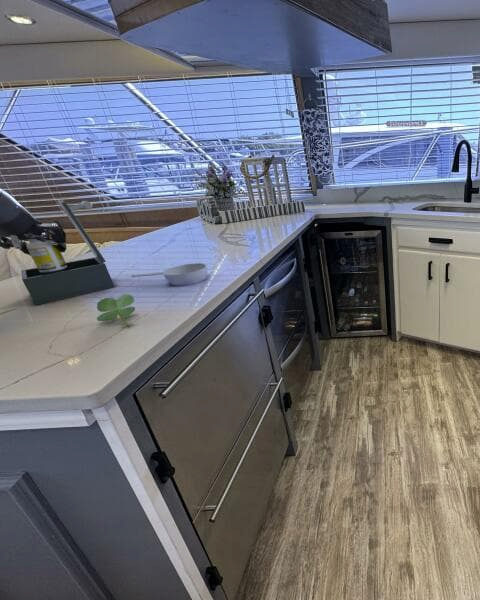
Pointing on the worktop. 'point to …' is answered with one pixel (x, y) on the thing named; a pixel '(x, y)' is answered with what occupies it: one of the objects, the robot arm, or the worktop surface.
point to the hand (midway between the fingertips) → (48, 251)
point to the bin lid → (79, 227)
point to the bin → (67, 280)
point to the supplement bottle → (46, 256)
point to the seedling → (115, 308)
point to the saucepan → (182, 274)
